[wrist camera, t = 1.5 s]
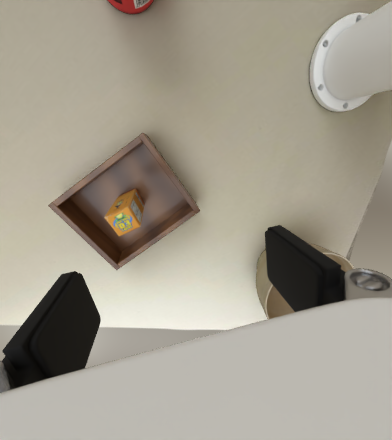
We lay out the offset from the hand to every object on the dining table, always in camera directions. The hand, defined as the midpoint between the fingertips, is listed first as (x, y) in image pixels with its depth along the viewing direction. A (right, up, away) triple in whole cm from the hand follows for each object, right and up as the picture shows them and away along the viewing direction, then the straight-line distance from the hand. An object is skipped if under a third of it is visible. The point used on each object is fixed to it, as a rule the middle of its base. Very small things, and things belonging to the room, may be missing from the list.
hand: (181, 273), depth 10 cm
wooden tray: (-10, +6, +25) cm, 27 cm away
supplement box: (-10, +6, +24) cm, 27 cm away
